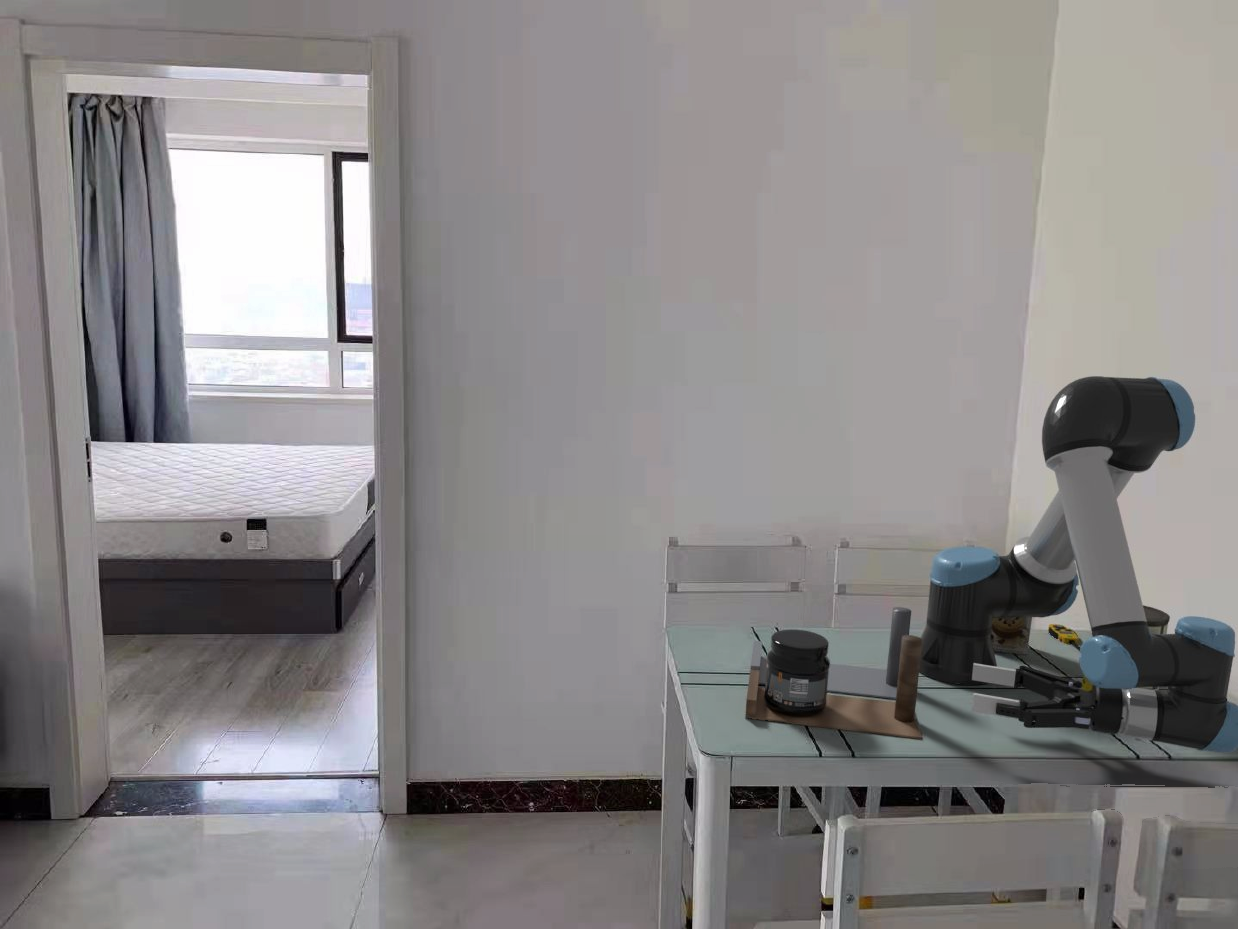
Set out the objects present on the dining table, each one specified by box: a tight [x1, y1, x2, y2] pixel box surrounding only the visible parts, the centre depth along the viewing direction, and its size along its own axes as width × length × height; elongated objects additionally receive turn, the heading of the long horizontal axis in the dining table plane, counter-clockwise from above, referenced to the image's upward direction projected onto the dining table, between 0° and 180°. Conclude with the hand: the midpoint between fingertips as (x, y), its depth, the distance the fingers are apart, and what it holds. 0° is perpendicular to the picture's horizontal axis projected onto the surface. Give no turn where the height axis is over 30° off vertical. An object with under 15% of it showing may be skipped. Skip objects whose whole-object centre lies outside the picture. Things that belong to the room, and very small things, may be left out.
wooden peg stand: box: [744, 634, 923, 740], centre depth 158 cm, size 28×13×14 cm, turn 79°
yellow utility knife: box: [1047, 623, 1081, 651], centre depth 199 cm, size 5×2×15 cm
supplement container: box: [764, 629, 831, 717], centre depth 159 cm, size 10×10×12 cm
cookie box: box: [991, 617, 1033, 655], centre depth 192 cm, size 9×6×16 cm
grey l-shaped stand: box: [749, 606, 912, 700], centre depth 172 cm, size 28×13×14 cm, turn 79°
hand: (972, 686), depth 151 cm, fingers open, 13 cm apart
